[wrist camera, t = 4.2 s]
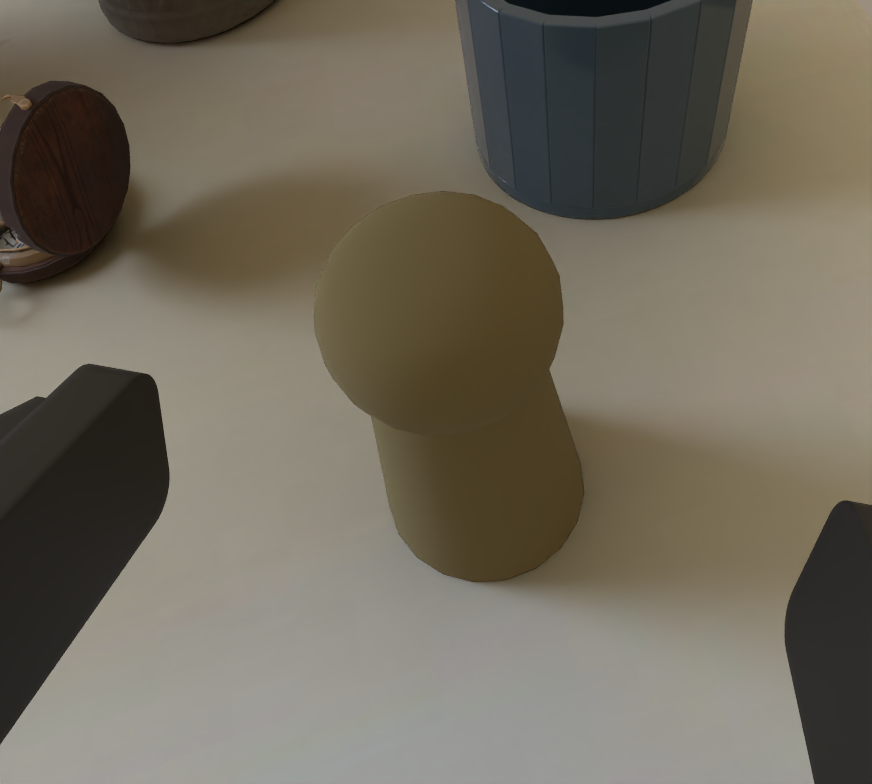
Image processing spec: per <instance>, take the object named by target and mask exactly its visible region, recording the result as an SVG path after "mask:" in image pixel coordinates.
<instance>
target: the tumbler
mask: <svg viewBox="0 0 872 784" xmlns="http://www.w3.org/2000/svg"><path fill="white" fill-rule="evenodd" d="M752 1H753V0H455V3H456V10H457V17H458V23H459V30H460V37H461V43H462V50H463V57H464V64H465V70H466V77H467V84H468V90H469V97H470V104H471V110H472V117H473V124H474V130H475V137H476V143H477V146H478V151H479V154H480V157H481V160H482V163H483V165H484V167H485V169H486V170H487V172H488V174H489V175H490V176H491V177H492V179H493V180H494V181H495V183H496V184H498V185H499V186H500V187H501V188H502V189H503V190H504V191H505V192H506V193H508V194H509V195H511V196H512V197H513V198H515V199H516V200H518V201H520V202H522V203H524V204H526V205H528V206H530V207H532V208H535V209H537V210H540V211H543V212H546V213H550V214H554V215H558V216H563V217H570V218H579V219H606V218H616V217H622V216H628V215H632V214H636V213H640V212H644V211H647V210H650V209H653V208H655V207H658V206H661V205H663V204H665V203H667V202H669V201H671V200H673V199H675V198H677V197H678V196H680V195H681V194H683V193H684V192H686V191H688V190H689V189H690V188H691V187H693V186H694V185H695V184H696V183H697V182H699V181H700V180H701V179H702V178H703V176H704V175H705V174H706V173H707V172H708V171H709V170H710V169H711V167H712V166H713V164H714V163H715V161H716V160H717V158H718V156H719V154H720V152H721V149H722V147H723V144H724V140H725V137H726V132H727V127H728V122H729V117H730V112H731V107H732V102H733V97H734V92H735V87H736V82H737V77H738V72H739V67H740V62H741V57H742V52H743V47H744V42H745V36H746V31H747V26H748V21H749V16H750V11H751V6H752Z"/></svg>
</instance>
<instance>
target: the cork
mask: <svg viewBox="0 0 872 784" xmlns="http://www.w3.org/2000/svg"><path fill="white" fill-rule="evenodd" d="M314 326H315V335H316V338H317V341H318V344H319V348H320V351H321V354H322V357H323V360H324V363H325V365H326V367H327V369H328V371H329V373H330V374H331V376H332V378H333V379H334V381H335V382H336V383H337V384H338V385H339V387H340V388H341V389H342V390H343V391H344V393H345V394H346V395H347V396H348V397H349V399H350V400H351V401H352V402H353V403H354V404H355V405H356V406H357V407H359V408H360V409H362V410H363V411H364V412H366V413H367V414H369V415H371V417H372V422H373V427H374V432H375V437H376V442H377V447H378V452H379V456H380V461H381V466H382V471H383V476H384V481H385V486H386V491H387V495H388V500H389V505H390V509H391V512H392V515H393V518H394V521H395V524H396V527H397V530H398V533H399V535H400V536H401V538H402V539H403V540H404V541H405V543H406V544H407V545H408V546H409V548H410V549H411V550H412V552H413V553H414V554H415V555H416V557H417V558H419V559H420V560H422V561H423V562H425V563H427V564H428V565H430V566H431V567H433V568H434V569H436V570H437V571H439V572H441V573H442V574H445V575H449V576H453V577H457V578H461V579H465V580H469V581H472V582H477V581H493V580H506V579H509V578H511V577H514V576H517V575H519V574H522V573H524V572H527V571H529V570H532V569H534V568H537V567H538V566H539V565H540V564H541V563H543V562H544V561H545V560H546V559H548V558H549V557H550V556H551V555H552V554H554V553H555V552H556V551H557V550H559V549H560V548H561V547H562V545H563V544H564V542H565V540H566V539H567V537H568V536H569V534H570V532H571V531H572V529H573V528H574V526H575V524H576V523H577V521H578V517H579V512H580V508H581V504H582V499H583V495H584V488H583V479H582V471H581V463H580V460H579V457H578V454H577V451H576V448H575V445H574V442H573V439H572V436H571V433H570V430H569V427H568V424H567V421H566V418H565V415H564V412H563V409H562V406H561V403H560V400H559V397H558V394H557V391H556V388H555V385H554V382H553V379H552V376H551V373H550V370H549V369H550V366H551V364H552V362H553V360H554V357H555V354H556V350H557V346H558V343H559V339H560V335H561V331H562V328H563V301H562V293H561V285H560V276H559V274H558V272H557V269H556V267H555V265H554V263H553V261H552V259H551V257H550V255H549V254H548V252H547V250H546V248H545V246H544V245H543V243H542V241H541V239H540V238H539V236H538V234H537V233H536V232H535V231H534V230H532V229H531V228H530V227H529V226H528V225H526V224H525V223H524V222H523V221H522V220H520V219H519V218H518V217H517V216H516V215H514V214H513V213H512V212H510V211H509V210H507V209H506V208H505V207H503V206H501V205H499V204H496V203H494V202H491V201H489V200H486V199H484V198H481V197H479V196H476V195H472V194H463V193H455V192H446V191H441V192H433V193H425V194H417V195H410V196H408V197H405V198H402V199H400V200H397V201H394V202H392V203H389V204H386V205H383V206H381V207H379V208H378V209H376V210H375V211H373V212H372V213H370V214H369V215H367V216H366V217H364V218H363V219H361V220H360V221H358V222H357V223H355V224H354V225H353V226H352V227H351V228H350V230H349V231H348V232H347V233H346V234H345V235H344V236H343V238H342V239H341V240H340V241H339V242H338V243H337V244H336V246H335V247H334V248H333V251H332V253H331V255H330V257H329V259H328V262H327V264H326V266H325V268H324V270H323V273H322V275H321V277H320V279H319V282H318V284H317V286H316V294H315V307H314Z"/></svg>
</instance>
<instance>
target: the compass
mask: <svg viewBox="0 0 872 784" xmlns="http://www.w3.org/2000/svg"><path fill="white" fill-rule="evenodd" d="M6 98H12V100H11V101H12V102H13V103H15V105H14V106H13V108H12V110H11V111H10V113H9V114H8V116H7V118H6V119H5V121H4V123H3V124H2V127H1V131H0V292H1V290H2V280H3V281H7V282H11V283H14V282H32V281H36V280H39V279H43V278H47V277H50V276H54V275H56V274H58V273H60V272H62V271H64V270H66V269H68V268H70V267H72V266H73V265H75V264H76V263H77V262H79V261H80V260H81V259H83V258H84V257H85V256H87V255H88V254H89V253H90V252H91V251H92V250H93V249H94V248H95V246H96V245H97V244H98V243H99V242H100V241H101V240H102V238H103V237H104V236H105V235H106V234H107V232H108V231H109V230H110V229H111V227H112V226H113V224H114V222H115V220H116V218H117V216H118V215H119V213H120V211H121V209H122V206H123V202H124V199H125V196H126V193H127V190H128V183H129V175H130V151H129V143H128V139H127V135H126V131H125V127H124V124H123V122H122V120H121V118H120V116H119V114H118V112H117V110H116V108H115V107H114V105H113V104H112V103H111V102H110V101H109V100H108V99H107V98H106V97H105V96H104V95H103V94H102V93H100V92H98V91H96V90H94V89H92V88H90V87H88V86H85V85H81V84H77V83H73V82H69V81H49V82H47V83H44V84H41V85H39V86H36V87H34V88H32V89H31V90H30V91H29V92H27V93H26V94H25V95H24V96H18V95H10V94H9V95H6V96H4V97H3V98H2V99H3V100H4V99H6Z"/></svg>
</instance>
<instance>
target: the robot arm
mask: <svg viewBox="0 0 872 784" xmlns="http://www.w3.org/2000/svg"><path fill="white" fill-rule="evenodd" d="M168 488H169V465H168V458H167V451H166V444H165V437H164V430H163V423H162V416H161V409H160V402H159V395H158V389H157V385H156V383H155V381H154V379H153V378H152V377H151V376H150V375H148V374H144V373H139V372H133V371H127V370H122V369H116V368H111V367H105V366H99V365H94V364H86V365H83V366H81V367H79V368H78V369H77V370H76V371H74V372H73V373H72V374H71V375H70V376H69V377H68V378H67V379H66V380H65V381H64V382H63V383H62V384H61V385H59V386H58V387H57V388H56V389H55V390H54V391H53V392H52V393H51V394H50V395H49V396H48V397H47V398H43V397H35V398H33V399H31V400H29V401H27V402H25V403H23V404H21V405H19V406H17V407H15V408H13V409H11V410H9V411H7V412H5V413H3V414H1V415H0V744H1V743H2V741H3V740H4V738H5V737H6V735H7V734H8V733H9V731H10V730H11V728H12V727H13V725H14V724H15V723H16V721H17V720H18V718H19V717H20V715H21V714H22V713H23V711H24V710H25V708H26V707H27V706H28V704H29V703H30V701H31V700H32V698H33V697H34V696H35V694H36V693H37V691H38V690H39V688H40V687H41V686H42V684H43V683H44V681H45V680H46V678H47V677H48V676H49V674H50V673H51V671H52V670H53V668H54V667H55V666H56V664H57V663H58V661H59V660H60V658H61V657H62V656H63V654H64V653H65V651H66V650H67V648H68V647H69V646H70V644H71V643H72V641H73V640H74V638H75V637H76V636H77V634H78V633H79V631H80V630H81V628H82V627H83V626H84V624H85V623H86V621H87V620H88V619H89V617H90V616H91V614H92V613H93V611H94V610H95V609H96V607H97V606H98V604H99V603H100V601H101V600H102V599H103V597H104V596H105V594H106V593H107V591H108V590H109V589H110V587H111V586H112V584H113V583H114V581H115V580H116V579H117V577H118V576H119V574H120V573H121V571H122V570H123V569H124V567H125V566H126V564H127V563H128V561H129V560H130V559H131V557H132V556H133V554H134V553H135V551H136V550H137V549H138V547H139V546H140V544H141V543H142V541H143V540H144V539H145V537H146V536H147V534H148V533H149V532H150V530H151V529H152V527H153V526H154V524H155V523H156V521H157V520H158V518H159V516H160V514H161V512H162V510H163V507H164V504H165V501H166V498H167V494H168ZM785 646H786V652H787V657H788V662H789V666H790V671H791V676H792V680H793V685H794V690H795V694H796V699H797V704H798V708H799V713H800V718H801V722H802V727H803V732H804V736H805V741H806V746H807V750H808V755H809V760H810V764H811V769H812V774H813V778H814V783H815V784H872V505H868V504H863V503H857V502H852V501H846V500H845V501H841V502H839V503H838V504H837V505H836V506H835V507H834V508H833V510H832V511H831V513H830V515H829V517H828V519H827V521H826V523H825V525H824V527H823V529H822V531H821V533H820V535H819V537H818V540H817V542H816V544H815V546H814V548H813V550H812V552H811V554H810V556H809V558H808V560H807V562H806V564H805V566H804V568H803V571H802V573H801V575H800V577H799V579H798V581H797V583H796V585H795V587H794V589H793V591H792V594H791V596H790V599H789V602H788V607H787V611H786V618H785Z"/></svg>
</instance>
